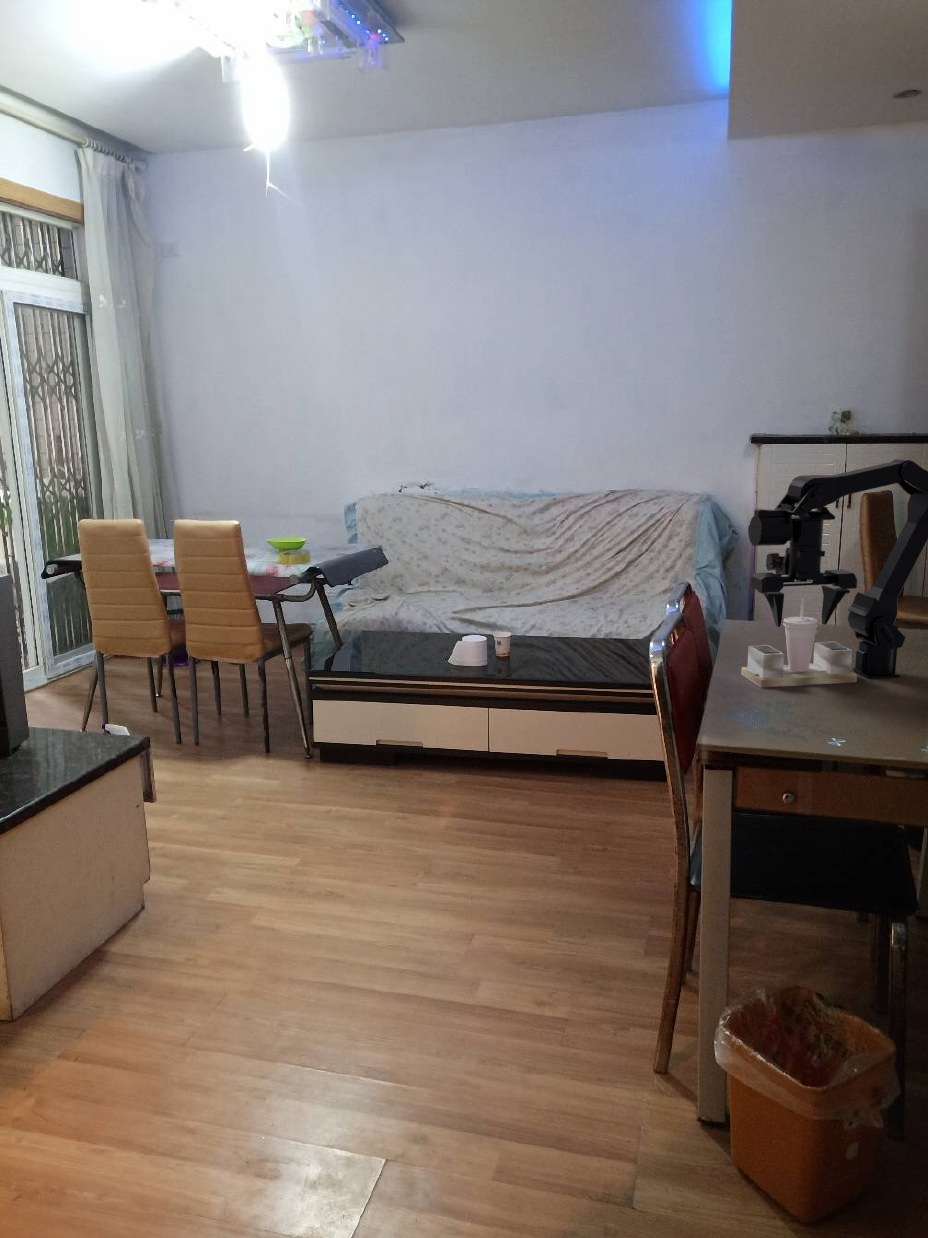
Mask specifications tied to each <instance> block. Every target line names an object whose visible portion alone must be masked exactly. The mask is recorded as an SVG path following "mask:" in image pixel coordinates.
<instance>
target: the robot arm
mask: <svg viewBox="0 0 928 1238" xmlns="http://www.w3.org/2000/svg"><path fill="white" fill-rule="evenodd" d="M894 484H897V485H898V487H899V488H900V489H901V490H902V491H904V492H905V493H906V494H907V495H909V499H908V502H907V507H906V508H907V512H906V513H907V516H906V517H907V518H906V522H905V523H904V526H903V528H902V529H901V532H900V534H899V535H898V538H897V540H896V542H895V543H894V545H893V547H892V549H891V550H890V551H891V552H890V553H889V555H888V558H887V559H886V561H885V563H884V565H883V567H882V569H881V571H880V573H879V575H878V577H877V578H876V580H875V583H874V584H873V586H872V587H871V589H869V590H868V591H867V592H866V593H863V592H860V591H857V592H856V594H855V596H854V599H853V602H852V604H851V605H850V606H849V607H848V608H847V611H848V612H849V613H848V615H847V622H848V624H849V627H850V628H851V630H853V632H854V635H855V638H856V639H857V640H860V641H858V649H856V651H855V652H856V653H855V666H854V667H852V671H853V672H855V673H858V674H860V675H862V676H864V677H866V678H867V679H882V678H883V679H884V678H897V677H898V678H899V677H901V674H900V673H899V672H897V671H896V670H897V659H898V658H897V657H898V649H899V648H902V647H903V645H904V642H905V640H906V636H905V635H904V634H903V633H902V632H901V631H900V630H899V629H898V628H897V626H895V622H896V620H897V617H898V606H899V605H898V601H899V596H900V595H901V593H902V591H903V588H904V587H905V584H906V582H907V581H908V579H909V577H910V575H911V574H912V573H911V572H912V571H913V569H914V567H915V566H916V563H917V561H918V559H919V558H920V556H921V553H922V552H923V550H924V548H925V547H926V545H927V542H928V470H926V469H924V468H923V467H921V466H920V465H919V464H917V463H916V462H915V461H913V460H910V459H904V458H903V459H901V458H897V459H893V460H892V461H889V462H884V463H881V464H877V465H876V464H875V465H872V466H868V467H863V468H859V469H854V470H850V471H846V472H841V473H836V474H810V475H808V474H807V475H805V474H804V475H799V476H796V477H794V478H793V479H792V480H791V482H790V483H789V485H788V489H787V492H786V493H785V494H784V496H783V497H782V498H781V500H780V501H779V502H778V504H777V505H776V507H774V509H764V508H755V509H754V511H753V512H754V513H753V514H754V515H753V516H752V517H751V519H750V522H749V525H748V527H747V533H748V539H749V542H750V544H751V545H752V546H753V547H764V546H769V547H770V546H785V545H786V544H787V542H789V547H786V549H785V555H783V556H780V554H779V552H773V553H767V554H766V562H765V566H766V570H767V571H771V572H754V573H753V575H752V576H751V577H750V588H751V589H753V590H756V591H757V592H758V593H760V594H762V595H763V596H764V597H765V599H766V601H767V603H768V605H769V607H770V611H771V614H772V618H773V621H774V623H775V627H778V628H780V627H781V625H782V621H783V610H784V603H785V602H784V599H785V593H784V592H781V591H782V590H783V588H784V587H799V586H805V587H806V586H820V585H821V590H822V594H823V595H822V596H823V599H822V606H821V607H822V609H821V624H822V625H827V624H828V623H829V620H830V618H831V617H832V615H833V613H834V612H835V609H836V608H837V606H838V605H839V603H840V602H841V601H842V600H843V598H844V597H845V595H846V594H850V593H851V590H850V589H857V588H858V577H857V575H856V574H855V573H854V572H852V571H849V570H845V569H843V568H841V569H826V570H824V572H822V571H821V569H822V568H821V566H822V557H823V558H825V556H826V550H823V532H824V521H831V520H833V521H834V520H835V519H836V516H835V515H834V514H833V513H832V512H831V511H830V510H829V509H828V507H827V506H829V505H831V504H833V503H835V502H837V501H838V500H840V499H841V498H843V497H846V496H848V495H852V494H856V493H861V492H866V491H870V490H873V489H874V490H875V489H877V488H882V487H886V486H890V485H894ZM772 571H774V572H775V573H774V572H772Z"/></svg>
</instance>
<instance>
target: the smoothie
mask: <svg viewBox="0 0 928 1238" xmlns="http://www.w3.org/2000/svg"><path fill="white" fill-rule="evenodd" d="M800 597H801V598H800V611H799V612H800V615H799V616H790V617H789V616H788V617H785V618H784V619H783V623H782V625H783V626H784V629H785V631H784V632H785V641H786V652H787V663H788V664H787V665H788V667H789V670H792V671H798V672H804V671H808V670H809V666H810V663H811V660H812V653H813V651H814V643H815V637H816V634H817V628H818V627H819V619H816V618H814V617H809V616H804V612H805V597H804V596H800Z"/></svg>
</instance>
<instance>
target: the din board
mask: <svg viewBox="0 0 928 1238" xmlns="http://www.w3.org/2000/svg"><path fill="white" fill-rule="evenodd" d="M747 647H748V648H747V666H743V667H741V670H740V671H741V673H740V675H741V676H743V677H745V678H746V679H747V680H749V681H751V682H752V683H753V684H754V685H756V686H758V687H759V688H762V689H763V688H775V687H776V688H777V687H778V688H779V686H780V687H794V686H795V687H797V686H813V685H814V686H815V685H827V684H828V685H830V684H845V683H846V684H847V683H850V684H851V683H857V681H858V680H857V678H858V674H857V673H856V672H854V671H852V658H853V657H852V656H853V649H851V648H848V647H846V646H844V645H842V644H840V643H838V642H836V641H819V642H818V641H817V642H814V644H813V659H812V660H813V661H812V662H813V663H812V662H810V666H809V670H808V671H804V672H798V671H792V670H789V667H788V664H785V662H784V661H785V653H783V652H781V651H780V650H778V649H776V648H774V647H772V646H771V645H769V644H762V645H748V646H747Z"/></svg>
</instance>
